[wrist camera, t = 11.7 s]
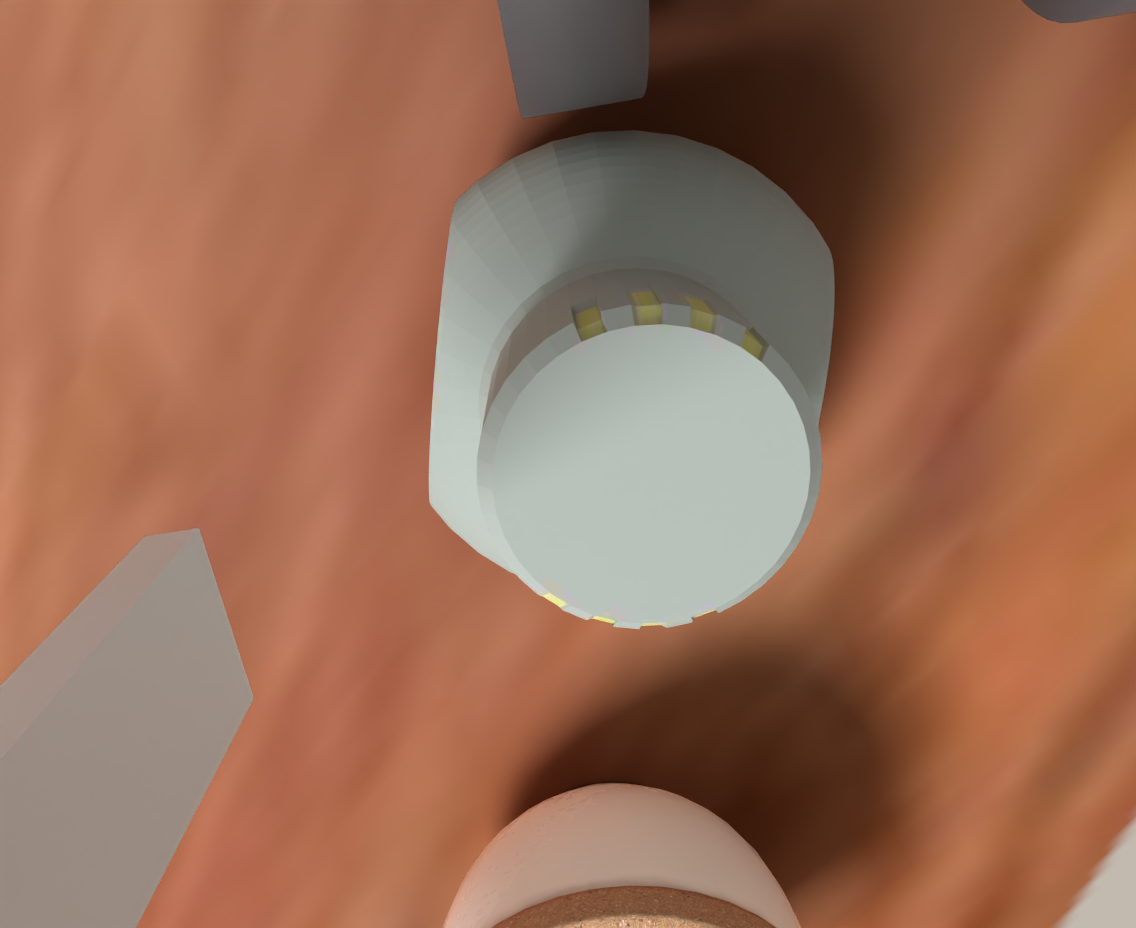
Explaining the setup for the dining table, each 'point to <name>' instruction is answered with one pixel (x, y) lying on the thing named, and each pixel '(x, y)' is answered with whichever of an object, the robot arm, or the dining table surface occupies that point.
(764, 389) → the air freshener
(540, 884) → the lidded jar
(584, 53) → the trolley
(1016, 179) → the dining table surface
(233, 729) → the robot arm
